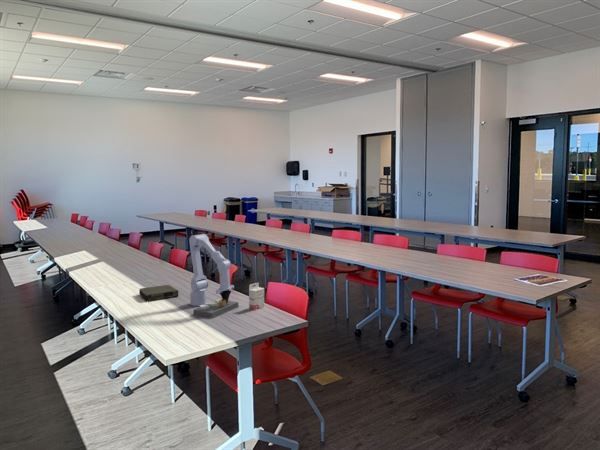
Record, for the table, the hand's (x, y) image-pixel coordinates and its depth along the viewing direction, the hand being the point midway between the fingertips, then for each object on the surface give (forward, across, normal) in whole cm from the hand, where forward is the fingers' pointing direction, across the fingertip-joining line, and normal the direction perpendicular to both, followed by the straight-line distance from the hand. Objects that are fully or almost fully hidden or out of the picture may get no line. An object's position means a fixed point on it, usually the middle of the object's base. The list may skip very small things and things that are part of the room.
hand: (225, 302), depth 267 cm
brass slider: (+1, -3, 0) cm, 3 cm away
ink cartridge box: (+5, +12, -14) cm, 19 cm away
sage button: (+2, -4, +7) cm, 8 cm away
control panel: (+4, -4, +4) cm, 7 cm away
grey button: (+2, -11, +7) cm, 13 cm away
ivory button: (+2, +3, +7) cm, 8 cm away
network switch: (+5, +6, +62) cm, 62 cm away
